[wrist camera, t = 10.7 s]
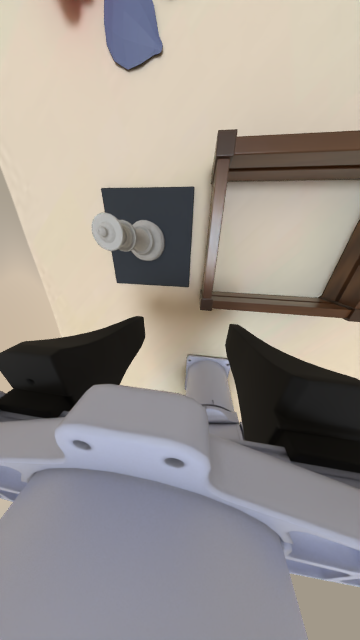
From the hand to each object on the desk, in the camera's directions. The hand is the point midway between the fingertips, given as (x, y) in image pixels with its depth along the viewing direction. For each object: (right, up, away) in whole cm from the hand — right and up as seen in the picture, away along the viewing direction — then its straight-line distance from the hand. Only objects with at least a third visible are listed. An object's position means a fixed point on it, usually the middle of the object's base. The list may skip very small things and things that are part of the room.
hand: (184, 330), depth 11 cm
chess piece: (-5, +11, +7) cm, 14 cm away
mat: (-4, +11, +7) cm, 14 cm away
